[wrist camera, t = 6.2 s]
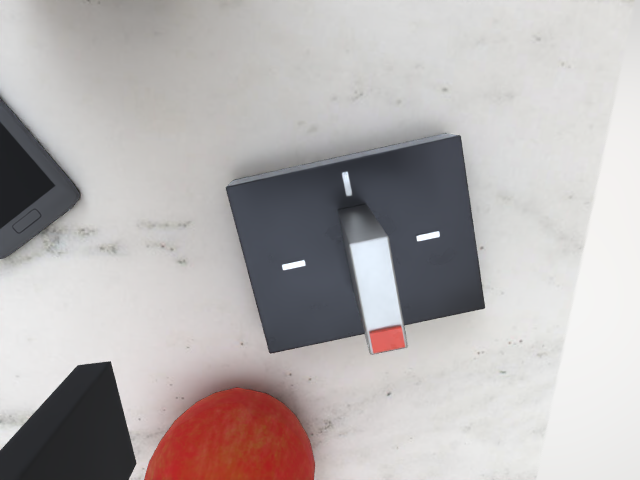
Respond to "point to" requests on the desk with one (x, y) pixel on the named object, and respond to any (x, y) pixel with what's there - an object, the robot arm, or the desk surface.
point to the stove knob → (373, 279)
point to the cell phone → (28, 185)
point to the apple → (234, 441)
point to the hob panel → (328, 246)
